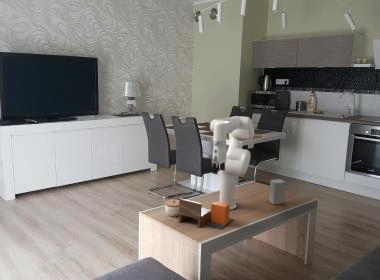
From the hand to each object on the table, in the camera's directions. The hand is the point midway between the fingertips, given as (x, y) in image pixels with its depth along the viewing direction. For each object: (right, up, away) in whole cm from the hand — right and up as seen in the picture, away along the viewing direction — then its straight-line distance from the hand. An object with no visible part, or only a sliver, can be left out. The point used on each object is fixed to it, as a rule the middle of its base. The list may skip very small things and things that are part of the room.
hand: (218, 171), depth 214 cm
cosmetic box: (+42, -24, +32) cm, 58 cm away
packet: (0, -29, -3) cm, 29 cm away
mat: (0, -29, -3) cm, 29 cm away
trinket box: (-27, -27, +8) cm, 39 cm away
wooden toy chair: (-14, -29, -1) cm, 32 cm away
